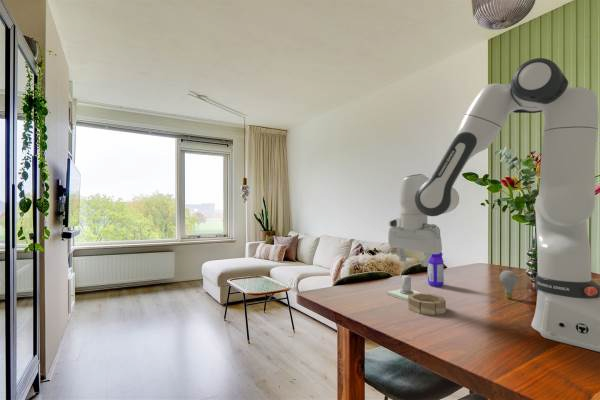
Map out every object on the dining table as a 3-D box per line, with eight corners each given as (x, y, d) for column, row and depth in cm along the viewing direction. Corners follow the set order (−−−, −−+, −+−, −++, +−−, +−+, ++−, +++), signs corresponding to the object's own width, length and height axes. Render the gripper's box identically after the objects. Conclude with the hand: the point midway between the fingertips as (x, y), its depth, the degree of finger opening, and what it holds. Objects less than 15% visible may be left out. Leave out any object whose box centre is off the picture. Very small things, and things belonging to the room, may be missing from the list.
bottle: (446, 287, 132) (445, 244, 132) (432, 287, 132) (431, 244, 132) (439, 283, 139) (438, 242, 140) (425, 283, 140) (425, 242, 140)
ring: (452, 310, 104) (452, 299, 104) (428, 316, 98) (428, 305, 98) (424, 301, 113) (424, 291, 113) (401, 306, 108) (401, 296, 108)
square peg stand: (427, 296, 119) (426, 277, 119) (407, 301, 114) (407, 281, 114) (406, 290, 128) (405, 272, 128) (386, 294, 123) (386, 275, 123)
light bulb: (500, 299, 115) (500, 271, 115) (499, 295, 120) (498, 268, 120) (519, 301, 112) (518, 272, 112) (517, 297, 117) (516, 269, 117)
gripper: (446, 224, 103) (446, 268, 103) (398, 220, 121) (398, 258, 121) (432, 225, 100) (432, 270, 100) (385, 221, 118) (385, 259, 118)
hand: (413, 263), depth 110 cm, fingers open, 8 cm apart
